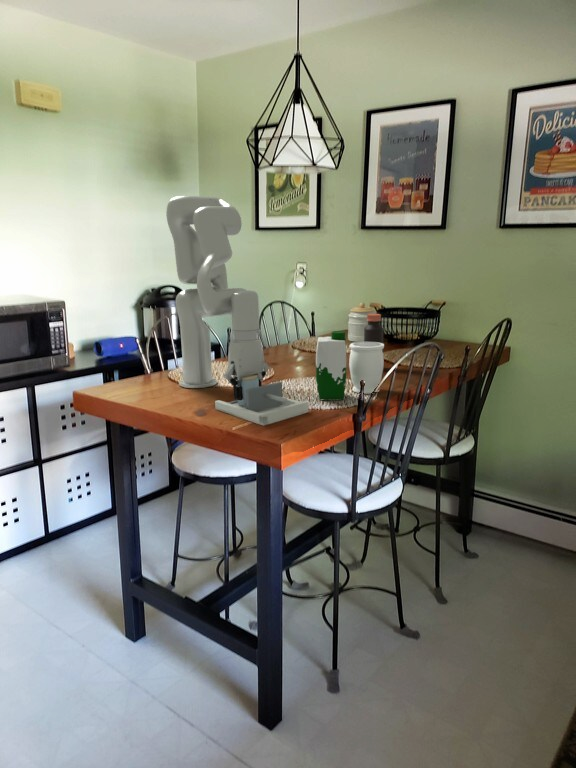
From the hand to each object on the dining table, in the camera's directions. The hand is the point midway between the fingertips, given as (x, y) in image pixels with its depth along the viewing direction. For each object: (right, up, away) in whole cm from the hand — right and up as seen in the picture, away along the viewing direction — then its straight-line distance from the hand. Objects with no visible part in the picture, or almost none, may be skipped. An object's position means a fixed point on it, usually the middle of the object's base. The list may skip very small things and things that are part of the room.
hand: (247, 396), depth 163 cm
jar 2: (+36, +1, +16) cm, 39 cm away
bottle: (+43, +9, +46) cm, 63 cm away
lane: (+4, -4, -3) cm, 6 cm away
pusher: (+8, -4, -8) cm, 12 cm away
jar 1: (+46, +24, +105) cm, 117 cm away
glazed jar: (0, -2, 0) cm, 2 cm away
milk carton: (+25, -1, +9) cm, 26 cm away
